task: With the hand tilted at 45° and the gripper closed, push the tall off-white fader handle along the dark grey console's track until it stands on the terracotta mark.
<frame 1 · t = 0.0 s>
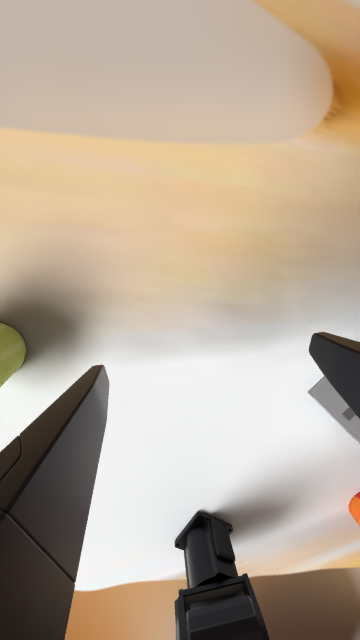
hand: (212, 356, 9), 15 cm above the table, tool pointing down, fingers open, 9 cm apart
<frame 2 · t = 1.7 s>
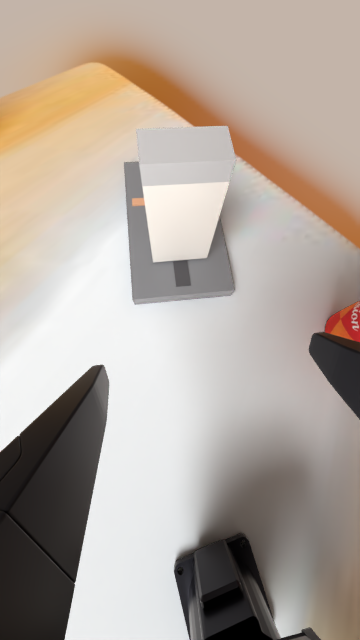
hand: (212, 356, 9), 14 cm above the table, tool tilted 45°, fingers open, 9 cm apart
fader handle: (181, 210, 19), point 7 cm above the table, slide at 0.0 cm
paper cup: (347, 336, 24), on the table
fader console: (174, 229, 27), on the table
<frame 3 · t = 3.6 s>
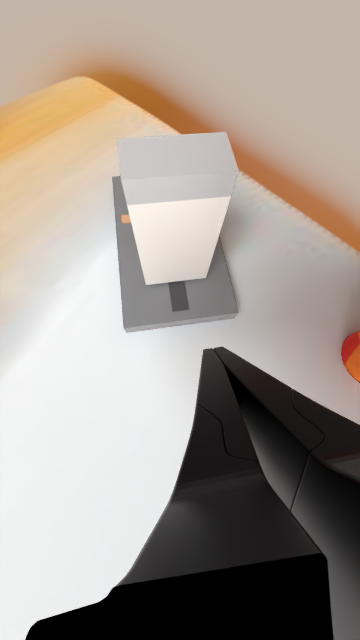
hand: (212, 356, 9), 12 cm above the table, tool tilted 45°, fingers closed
fader handle: (175, 229, 16), point 7 cm above the table, slide at 0.0 cm
fader console: (168, 246, 25), on the table
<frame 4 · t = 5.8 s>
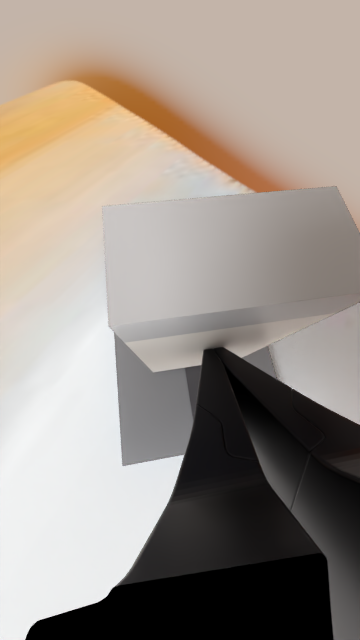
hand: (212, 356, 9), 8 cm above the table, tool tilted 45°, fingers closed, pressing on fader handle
fader handle: (203, 320, 10), point 7 cm above the table, slide at 1.2 cm, touching gripper
fader console: (184, 316, 18), on the table
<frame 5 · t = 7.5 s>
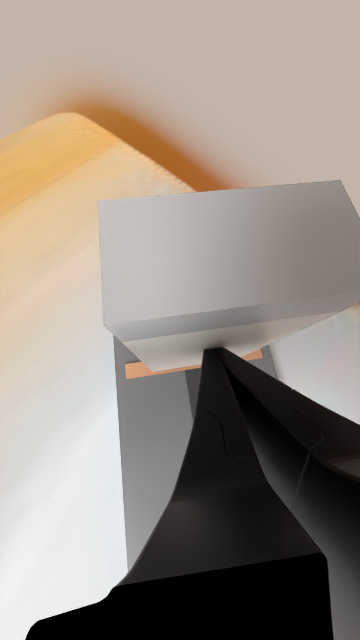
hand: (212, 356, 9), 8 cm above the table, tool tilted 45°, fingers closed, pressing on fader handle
fader handle: (203, 319, 10), point 7 cm above the table, slide at 8.2 cm, touching gripper
fader console: (199, 404, 16), on the table
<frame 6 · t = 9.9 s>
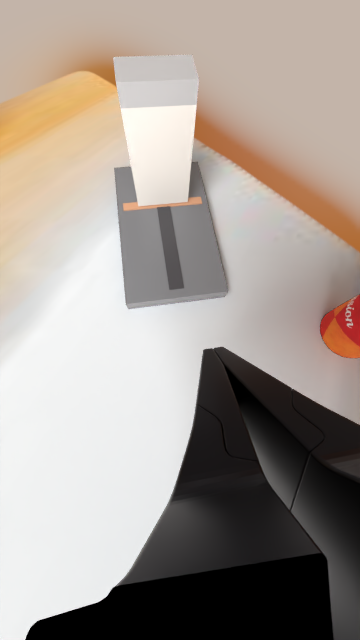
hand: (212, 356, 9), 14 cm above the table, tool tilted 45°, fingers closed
fader handle: (159, 146, 21), point 7 cm above the table, slide at 8.2 cm
paper cup: (342, 333, 24), on the table
fader console: (166, 232, 27), on the table
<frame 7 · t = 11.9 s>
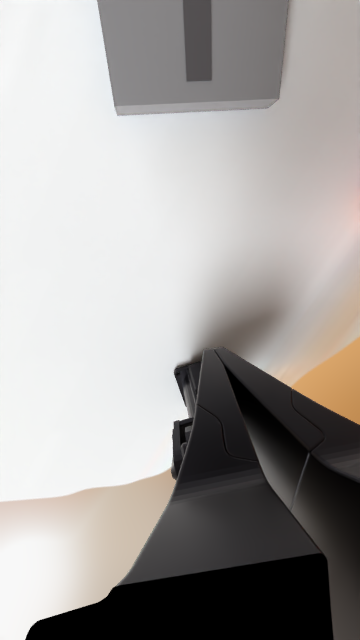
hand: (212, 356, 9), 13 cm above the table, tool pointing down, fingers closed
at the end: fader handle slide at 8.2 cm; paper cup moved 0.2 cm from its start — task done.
